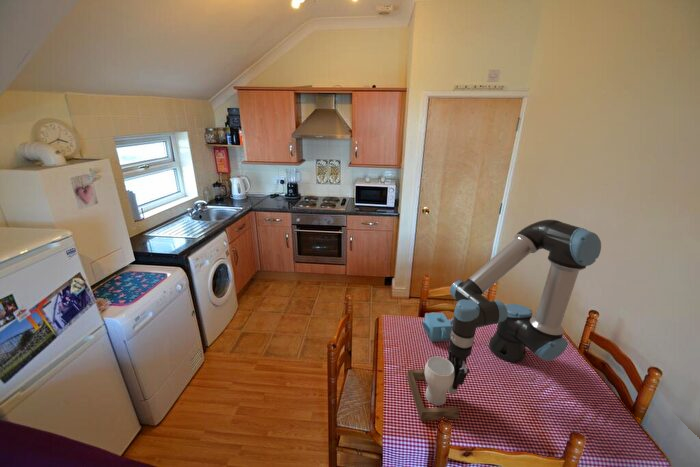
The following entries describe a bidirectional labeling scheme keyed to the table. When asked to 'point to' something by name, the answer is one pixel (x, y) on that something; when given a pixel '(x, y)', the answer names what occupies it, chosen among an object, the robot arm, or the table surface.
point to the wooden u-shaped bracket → (423, 412)
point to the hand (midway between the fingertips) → (452, 392)
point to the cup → (438, 379)
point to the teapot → (437, 326)
